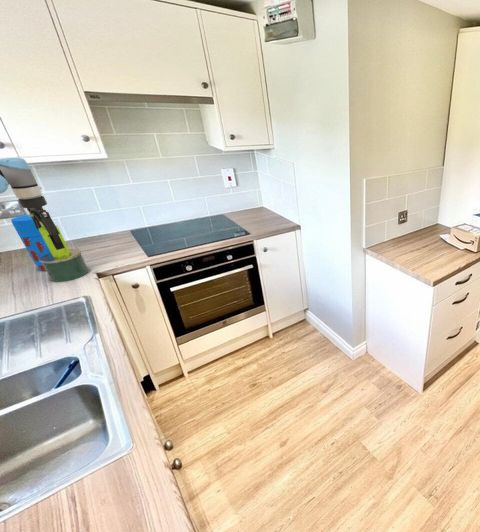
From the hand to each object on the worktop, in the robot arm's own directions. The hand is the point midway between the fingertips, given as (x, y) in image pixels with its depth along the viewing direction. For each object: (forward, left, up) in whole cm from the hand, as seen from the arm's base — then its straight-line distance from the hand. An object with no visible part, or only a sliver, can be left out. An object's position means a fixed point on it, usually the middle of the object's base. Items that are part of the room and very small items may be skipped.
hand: (56, 246), depth 144 cm
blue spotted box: (0, +18, -15) cm, 23 cm away
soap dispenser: (0, 0, -4) cm, 4 cm away
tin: (0, 0, -15) cm, 15 cm away
